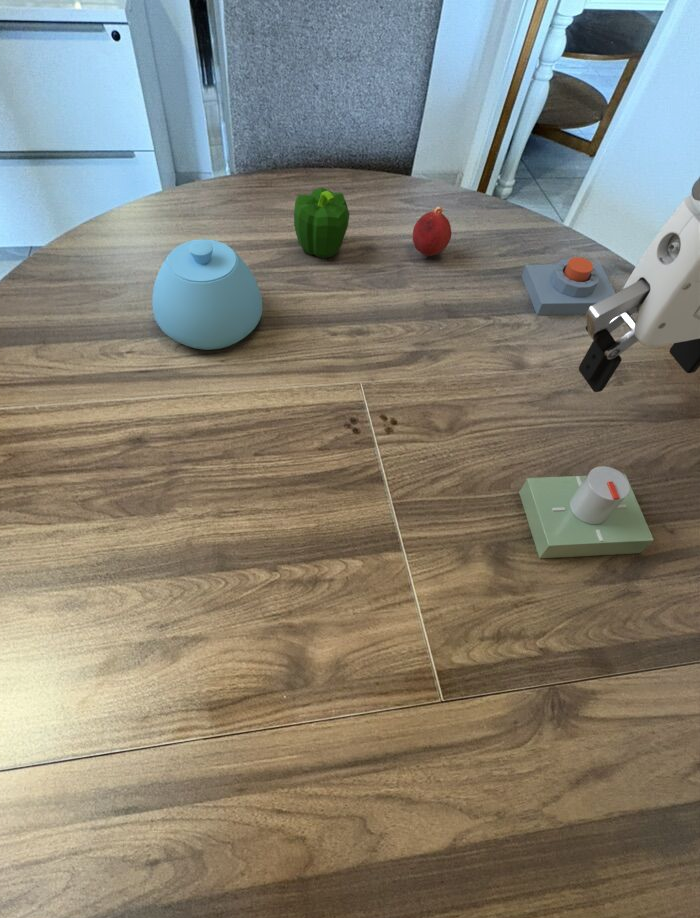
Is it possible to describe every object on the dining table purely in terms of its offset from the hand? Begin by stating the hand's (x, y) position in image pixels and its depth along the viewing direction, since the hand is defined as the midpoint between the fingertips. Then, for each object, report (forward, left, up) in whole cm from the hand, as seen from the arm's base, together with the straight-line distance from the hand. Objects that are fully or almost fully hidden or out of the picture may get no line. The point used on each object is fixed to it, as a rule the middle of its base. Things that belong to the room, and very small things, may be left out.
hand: (635, 371), depth 56 cm
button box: (-13, -36, -21) cm, 44 cm away
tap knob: (-2, +4, -18) cm, 18 cm away
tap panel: (-2, +4, -21) cm, 21 cm away
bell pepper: (+24, -48, -21) cm, 58 cm away
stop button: (-13, -36, -17) cm, 42 cm away
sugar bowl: (+41, -32, -21) cm, 56 cm away
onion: (+7, -46, -21) cm, 51 cm away
